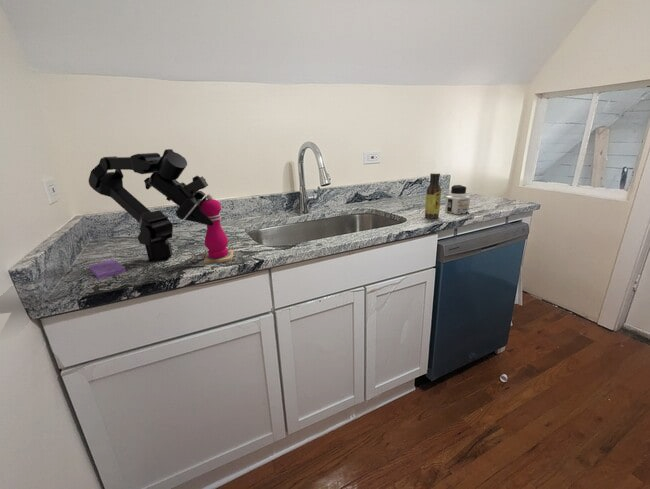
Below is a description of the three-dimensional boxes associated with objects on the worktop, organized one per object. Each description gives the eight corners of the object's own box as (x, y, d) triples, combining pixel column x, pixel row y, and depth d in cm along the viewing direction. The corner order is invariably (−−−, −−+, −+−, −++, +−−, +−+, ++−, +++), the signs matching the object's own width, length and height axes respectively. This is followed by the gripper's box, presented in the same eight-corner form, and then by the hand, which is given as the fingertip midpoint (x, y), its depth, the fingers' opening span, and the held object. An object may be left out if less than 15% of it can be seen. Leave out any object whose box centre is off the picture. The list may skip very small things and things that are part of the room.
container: (456, 214, 145) (459, 187, 141) (444, 211, 152) (446, 185, 148) (468, 212, 148) (471, 185, 144) (456, 209, 155) (458, 183, 151)
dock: (203, 263, 97) (203, 261, 97) (207, 254, 105) (207, 252, 104) (231, 260, 98) (231, 258, 98) (233, 252, 106) (233, 249, 106)
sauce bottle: (436, 219, 138) (440, 174, 132) (422, 218, 142) (425, 173, 135) (440, 216, 144) (444, 172, 137) (426, 215, 147) (429, 172, 141)
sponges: (99, 280, 89) (97, 274, 88) (89, 270, 97) (87, 264, 96) (126, 272, 93) (125, 267, 93) (114, 263, 102) (113, 258, 101)
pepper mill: (221, 249, 106) (213, 191, 100) (234, 253, 102) (225, 193, 96) (202, 256, 101) (192, 195, 95) (214, 260, 97) (204, 197, 90)
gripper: (180, 170, 83) (228, 207, 88) (193, 165, 100) (233, 197, 106) (155, 201, 84) (204, 236, 89) (172, 191, 101) (212, 221, 107)
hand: (215, 221), depth 98 cm, fingers open, 9 cm apart
